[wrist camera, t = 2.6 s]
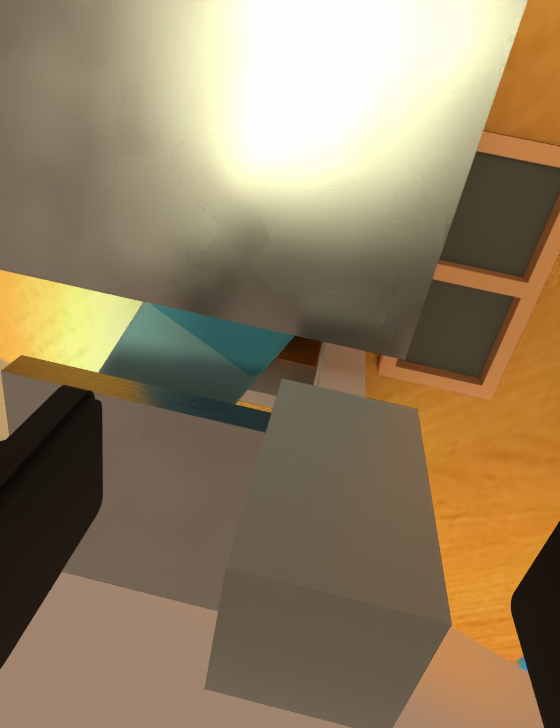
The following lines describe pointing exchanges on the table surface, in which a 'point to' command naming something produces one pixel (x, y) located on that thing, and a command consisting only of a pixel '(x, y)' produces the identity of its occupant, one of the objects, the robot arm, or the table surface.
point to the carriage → (332, 553)
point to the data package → (193, 353)
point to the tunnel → (229, 214)
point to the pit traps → (487, 270)
